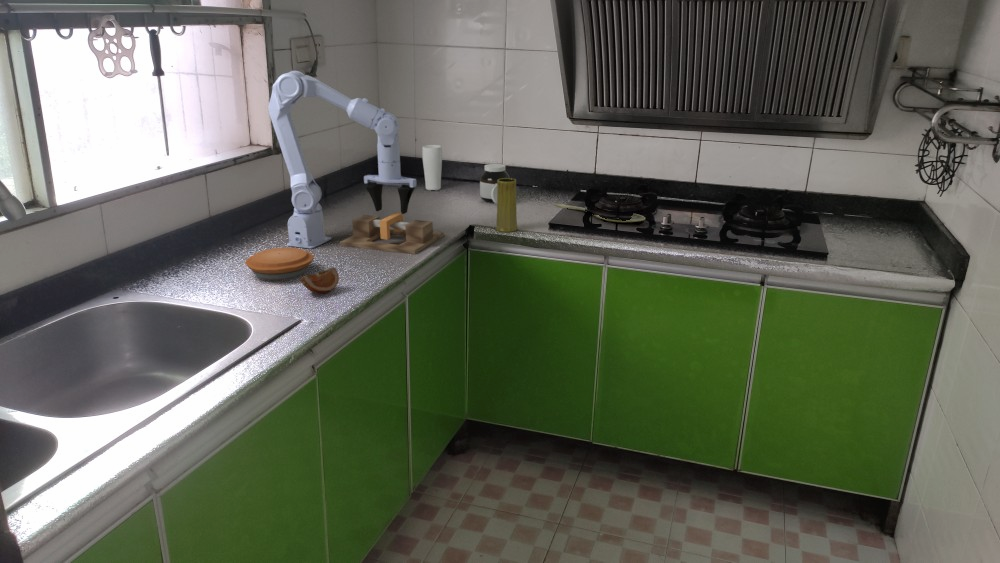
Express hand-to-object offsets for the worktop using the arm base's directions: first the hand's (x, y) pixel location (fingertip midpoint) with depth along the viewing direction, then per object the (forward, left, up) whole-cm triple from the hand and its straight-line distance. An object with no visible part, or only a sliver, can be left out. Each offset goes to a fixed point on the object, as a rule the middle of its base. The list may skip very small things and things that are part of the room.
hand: (391, 211), depth 197 cm
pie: (-33, +12, -8) cm, 36 cm away
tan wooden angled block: (0, 0, -6) cm, 6 cm away
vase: (+21, -25, -8) cm, 34 cm away
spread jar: (+51, -11, -8) cm, 53 cm away
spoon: (+46, -45, -9) cm, 65 cm away
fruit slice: (-41, -4, -8) cm, 42 cm away
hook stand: (0, 0, -8) cm, 8 cm away
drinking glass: (+61, +17, -8) cm, 64 cm away
